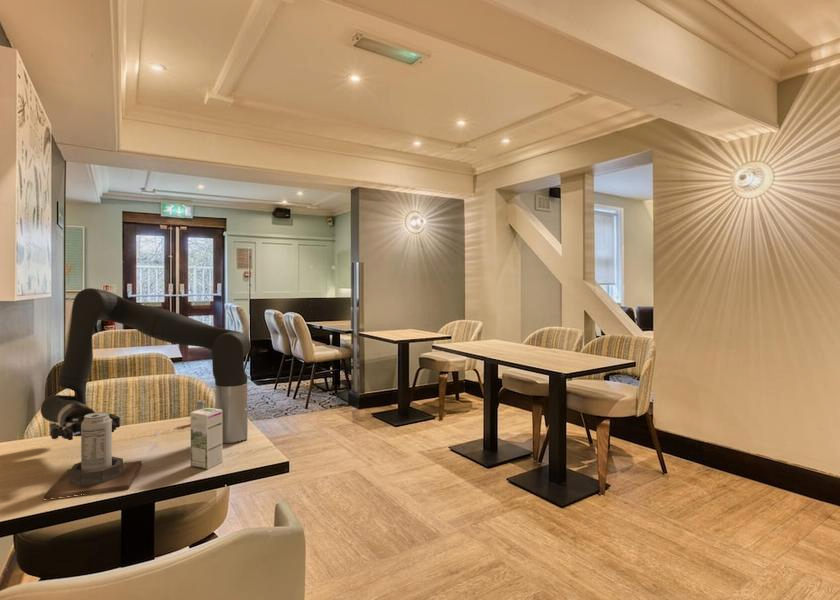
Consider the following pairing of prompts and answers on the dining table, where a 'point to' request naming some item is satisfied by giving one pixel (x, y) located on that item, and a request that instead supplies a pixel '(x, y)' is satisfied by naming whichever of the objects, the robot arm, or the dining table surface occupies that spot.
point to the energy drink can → (96, 441)
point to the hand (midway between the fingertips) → (92, 432)
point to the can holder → (95, 479)
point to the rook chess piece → (200, 404)
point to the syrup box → (206, 438)
